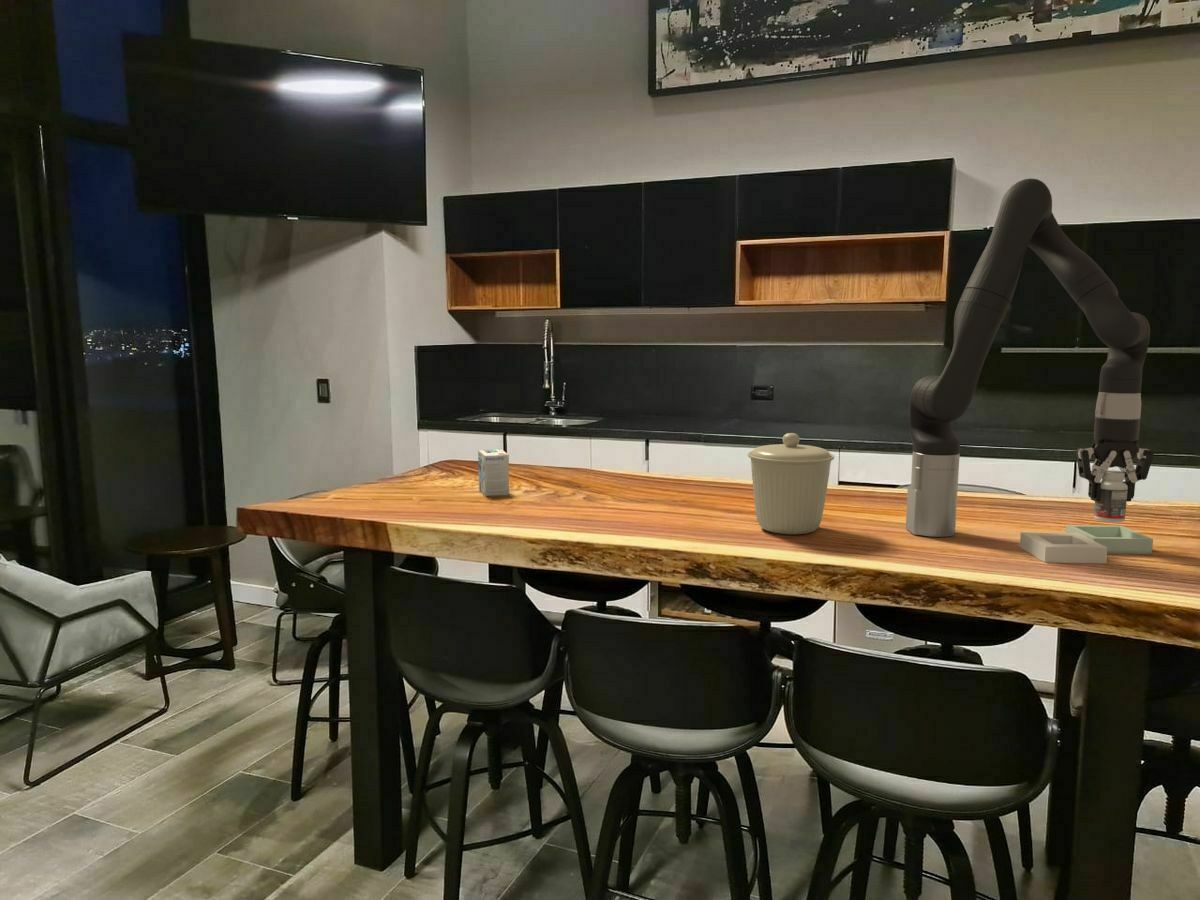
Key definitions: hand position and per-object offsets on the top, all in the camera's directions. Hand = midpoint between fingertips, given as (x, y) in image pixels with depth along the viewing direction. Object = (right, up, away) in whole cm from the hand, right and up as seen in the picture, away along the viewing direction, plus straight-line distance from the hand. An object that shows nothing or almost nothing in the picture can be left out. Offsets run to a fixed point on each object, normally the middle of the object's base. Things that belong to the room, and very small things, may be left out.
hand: (1110, 500), depth 168 cm
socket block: (-13, -10, -5) cm, 17 cm away
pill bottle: (0, -4, +1) cm, 4 cm away
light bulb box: (-129, -1, +59) cm, 142 cm away
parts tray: (0, -9, +1) cm, 9 cm away
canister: (-60, -7, +16) cm, 63 cm away
